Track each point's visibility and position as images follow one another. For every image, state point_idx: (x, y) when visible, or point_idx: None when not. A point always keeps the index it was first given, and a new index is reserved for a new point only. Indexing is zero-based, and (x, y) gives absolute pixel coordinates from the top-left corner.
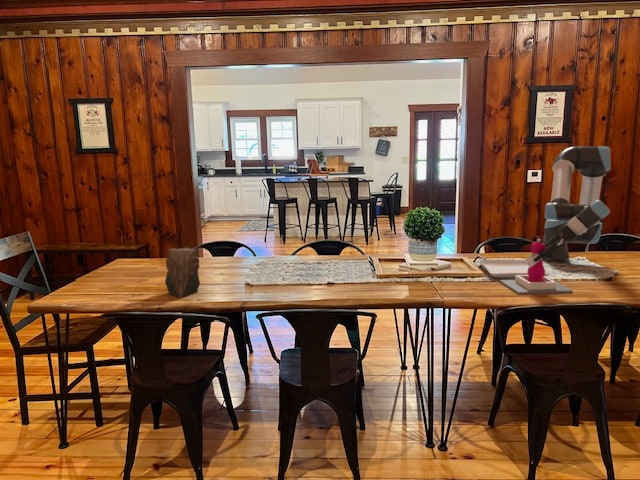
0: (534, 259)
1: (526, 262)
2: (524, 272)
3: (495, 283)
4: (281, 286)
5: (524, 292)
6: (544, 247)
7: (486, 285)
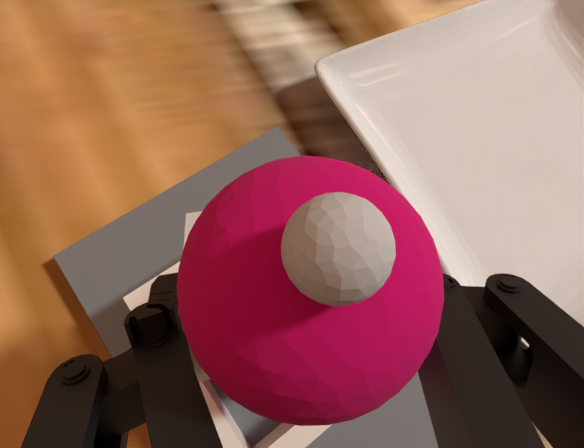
0: (152, 287)
1: (190, 217)
2: (550, 223)
3: (240, 117)
4: None
5: (74, 290)
6: (251, 409)
7: (176, 84)
